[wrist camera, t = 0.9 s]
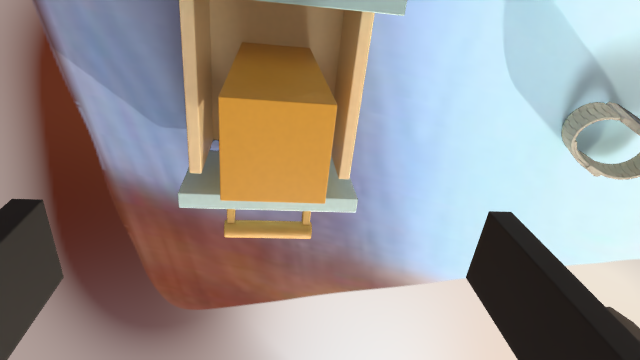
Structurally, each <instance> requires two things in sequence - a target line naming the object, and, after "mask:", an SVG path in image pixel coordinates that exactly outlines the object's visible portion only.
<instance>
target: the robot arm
mask: <svg viewBox="0 0 640 360" xmlns="http://www.w3.org/2000/svg"><path fill="white" fill-rule="evenodd" d="M466 278H467V280H468V281H469V283H470V285H471V286H472V288H473V289H474V291H475V293H476V294H477V296H478V297H479V299H480V300H481V302H482V303H483V305H484V307H485V308H486V310H487V311H488V313H489V315H490V316H491V318H492V320H493V321H494V323H495V324H496V326H497V327H498V329H499V331H500V332H501V334H502V335H503V337H504V339H505V340H506V342H507V343H508V345H509V346H510V348H511V350H512V351H513V353H514V354H515V356H516V358H517V359H518V360H640V328H639V327H638V326H636V325H635V324H634V323H633V322H632V321H630V320H629V319H627V318H626V317H624V316H623V315H622V314H620V313H619V312H617V311H615V310H614V309H613V308H611V307H605V306H604V305H603V304H602V303H601V302H600V301H599V300H598V299H597V298H596V297H595V296H594V295H593V294H592V293H591V292H590V291H589V290H588V289H587V288H586V287H585V286H584V285H583V284H582V283H581V282H580V281H579V280H578V279H577V278H576V277H575V276H574V275H573V274H572V273H571V272H570V271H569V270H568V269H567V268H566V267H565V266H564V265H563V264H562V263H561V262H560V261H559V260H558V259H557V258H556V257H555V256H554V255H553V254H552V253H551V252H550V251H549V250H548V249H547V248H546V247H545V246H544V245H543V244H542V243H541V242H540V241H539V240H538V239H537V238H536V237H535V236H534V235H533V234H532V233H531V232H530V231H529V230H528V229H527V228H526V227H525V226H524V224H523V223H522V222H521V221H520V220H519V219H518V218H517V217H516V216H515V215H514V214H513V213H512V212H491V211H489V213H488V216H487V219H486V222H485V225H484V227H483V230H482V233H481V236H480V239H479V242H478V244H477V247H476V250H475V253H474V256H473V259H472V261H471V264H470V267H469V270H468V273H467V276H466ZM62 279H63V274H62V269H61V265H60V262H59V258H58V254H57V251H56V247H55V243H54V240H53V236H52V232H51V229H50V225H49V221H48V217H47V214H46V210H45V207H44V203H43V200H31V199H11V200H10V201H9V202H8V203H7V204H6V205H4V206H3V207H2V208H1V209H0V360H7V359H8V358H9V356H10V355H11V353H12V352H13V351H14V349H15V348H16V346H17V345H18V343H19V342H20V340H21V339H22V337H23V336H24V335H25V333H26V332H27V330H28V329H29V327H30V326H31V324H32V323H33V321H34V320H35V318H36V317H37V315H38V314H39V312H40V311H41V310H42V308H43V307H44V305H45V304H46V302H47V301H48V299H49V298H50V296H51V295H52V294H53V292H54V291H55V289H56V288H57V286H58V285H59V283H60V282H61V280H62Z"/></svg>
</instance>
